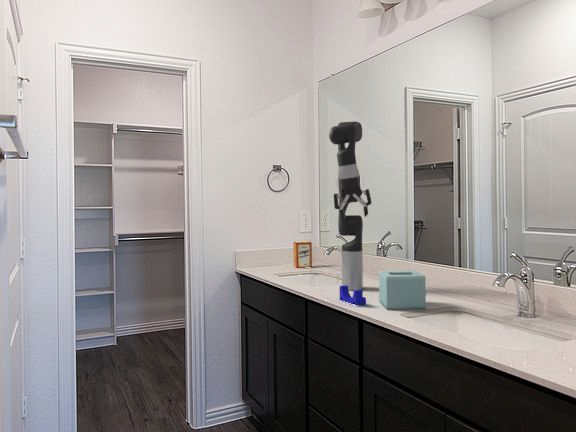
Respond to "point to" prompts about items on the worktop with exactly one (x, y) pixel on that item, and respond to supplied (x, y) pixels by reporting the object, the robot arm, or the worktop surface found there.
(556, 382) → the worktop surface
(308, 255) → the baking soda box
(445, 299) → the worktop surface
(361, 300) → the cable clip
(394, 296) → the box
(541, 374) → the worktop surface
